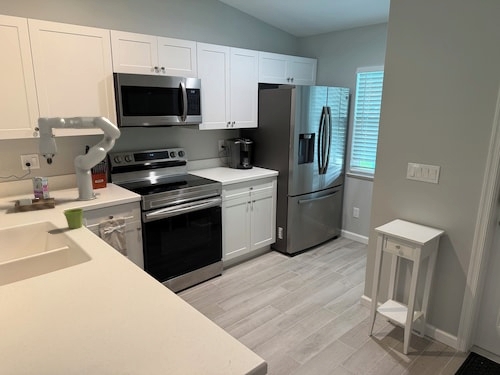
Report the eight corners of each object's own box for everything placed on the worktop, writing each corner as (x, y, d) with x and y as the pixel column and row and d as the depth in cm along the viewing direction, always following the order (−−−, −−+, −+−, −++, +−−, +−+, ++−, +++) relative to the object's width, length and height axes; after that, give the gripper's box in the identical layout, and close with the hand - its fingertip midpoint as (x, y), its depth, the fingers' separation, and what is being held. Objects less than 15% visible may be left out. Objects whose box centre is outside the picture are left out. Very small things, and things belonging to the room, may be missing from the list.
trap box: (54, 203, 237) (54, 195, 236) (54, 208, 221) (53, 200, 220) (18, 207, 226) (17, 199, 226) (15, 212, 211) (14, 204, 210)
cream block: (31, 202, 224) (31, 196, 224) (31, 204, 220) (30, 198, 219) (20, 204, 221) (20, 198, 221) (20, 205, 217) (19, 199, 216)
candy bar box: (50, 199, 251) (47, 176, 248) (43, 200, 247) (40, 177, 244) (41, 197, 256) (38, 176, 253) (34, 199, 252) (31, 177, 249)
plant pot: (61, 228, 175) (59, 211, 174) (80, 223, 183) (78, 207, 181) (70, 231, 170) (68, 214, 168) (88, 226, 177) (87, 210, 176)
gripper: (59, 136, 234) (62, 163, 237) (33, 137, 226) (37, 164, 230) (59, 136, 227) (62, 163, 230) (32, 137, 220) (36, 165, 223)
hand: (49, 164), depth 230 cm, fingers closed
